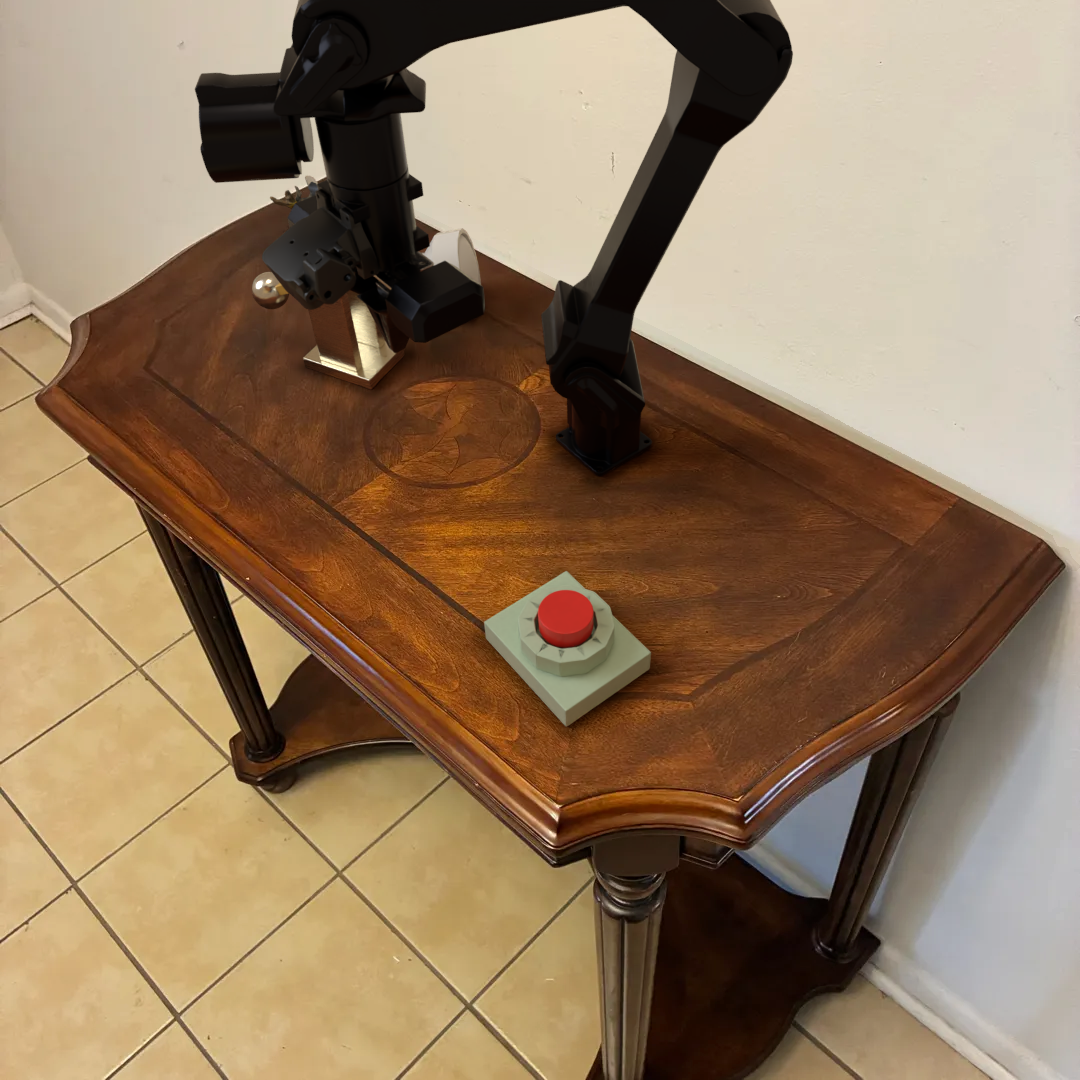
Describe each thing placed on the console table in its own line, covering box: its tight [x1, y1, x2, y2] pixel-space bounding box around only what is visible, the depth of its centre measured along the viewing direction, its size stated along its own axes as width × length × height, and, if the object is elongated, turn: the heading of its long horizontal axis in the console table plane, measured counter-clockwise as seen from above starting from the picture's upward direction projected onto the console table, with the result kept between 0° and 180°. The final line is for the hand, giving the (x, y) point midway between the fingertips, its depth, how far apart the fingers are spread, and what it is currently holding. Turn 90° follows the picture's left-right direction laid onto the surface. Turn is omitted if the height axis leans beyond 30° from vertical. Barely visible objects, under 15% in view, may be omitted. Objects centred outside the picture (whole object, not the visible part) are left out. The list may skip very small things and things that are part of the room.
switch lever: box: [251, 271, 290, 310], centre depth 95 cm, size 13×4×4 cm, turn 62°
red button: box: [538, 590, 594, 648], centre depth 72 cm, size 4×4×2 cm
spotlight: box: [421, 228, 482, 285], centre depth 103 cm, size 8×11×8 cm
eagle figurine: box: [269, 174, 319, 210], centre depth 113 cm, size 8×7×9 cm
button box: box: [483, 570, 652, 728], centre depth 74 cm, size 10×8×4 cm
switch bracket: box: [302, 290, 405, 390], centre depth 95 cm, size 8×6×12 cm
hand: (397, 349), depth 81 cm, fingers closed
